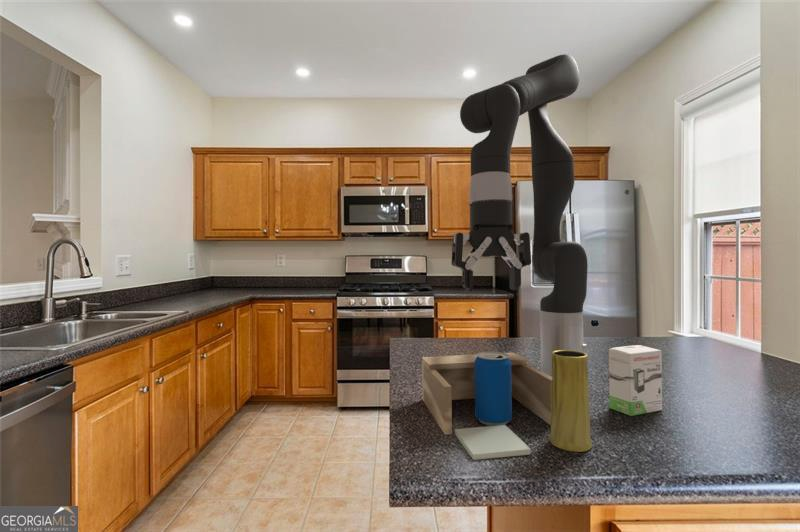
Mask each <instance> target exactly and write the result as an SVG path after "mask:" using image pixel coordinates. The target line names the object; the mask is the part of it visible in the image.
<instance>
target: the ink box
mask: <svg viewBox="0 0 800 532" xmlns="http://www.w3.org/2000/svg"><path fill="white" fill-rule="evenodd" d="M662 353H663V352H662V350H661V349H657V348H653V347H650V346H646V345H641V344H636V345H635V344H634V345H625V346H616V347H611V348H609V349H608V373H609V374H608V377H609V379H608V383H609V385H608V386H609V390H608V391H609V393H608V395H609V397H608V398H609V409H611V410H614V411H617V412H619V413H622V414H625V415H627V416H629V417H633V416H638V415H644V414H648V413H653V412H659V411H662V410H663V364H662V363H663V362H662V361H663V354H662Z"/></svg>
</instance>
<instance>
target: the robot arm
mask: <svg viewBox="0 0 800 532" xmlns="http://www.w3.org/2000/svg"><path fill="white" fill-rule="evenodd" d="M579 84H580V71H579V67H578V64H577V61H576V60H575V58H574V57H573V56H572V55H569V54H566V53H565V54H559V55H555V56H554V57H551V58H548V59H546V60H543V61H541V62H539V63H536V64H534V65H532V66H530V67H528V69H527V70H526V72H525V74H523V75H520V76H516V77H514V78H511V79H509V80H507V81H504V82H503V83H501V84H497V85H494V86H492V87H489V88H486V89H483V90H481V91H478V92H476V93H473V94H470V95H469V96H467V97H466V98H465V100H464V101H463V103H462V104H461V107H460V112H459V117H460V121H461V124H462V126H463V128H465V129H466V130H467V131H468V132H470V133H473V134H482V133H486V132H489V133H488V134H487V136H486V137H485V138H483V139H482V140H481V141H479V142H477V143H476V144H474V145H473V146H472V148H471V150H470V182H469V232H468V233H463V232H456V233H454V234H453V235H452V242H451V243H452V245H451V248H452V249H451V265H452V267H456V268H458V269H460V270H461V271H462V272H461V276H462V277H461V280H462V281H461V283H462V285H461V286H462V287H463V289H465V291H466V292H473V291H474V270H472V268H473V266H474V265H475V263H477V261H479V259H480V258H481V257H482V258H489V257H492V258H494V257H495V258H496V257H497V258H499V257H501V258H502V259H503V261H505V262H506V264H507V265H508V266H509V268H510V269H509V270H508V271H509V274H508V275H509V281H508V282H509V283H508V284H509V290H511V291H517V290H519V287H521V284H522V269H523V268H524V267H527V266H530V265H531V264H532V265H533V270H534V272H535V274H536V276H537V277H538V278H539V279H541V280H543V281H547V282H548V281H549V282H553V289H552V291H551V292H550V294H548V295H546V296H543V297H542V298H541V299H540V301H539V302H540V303H539V307H540V308H539V309H540V311H539V312H540V316H539V317H540V371H541V372H543V373H545V374H547V375H549V376H551V377H552V352H553V351H556V350H573V351H580V352H584V353H586V354H587V355H588V345H587V344H586V343H584V303H585V301H586V297H587V288H588V287H587V286H588V285H587V284H588V269H589V268H588V265H589V264H588V257H587V252H586V250H585V249H584V247H583V246H582V245H581V244H580V243H578V242H576V241H571V240H570V241H561V223H562V217H563V215H564V211H565V210H566V207H567V205H568V203H569V200H570V197H571V195H572V193H573V191H574V186H575V163H574V156H573V155H574V154H573V153H572V150H571V149H570V147H569V146H568V144H567V143H566V142H565V141H564V139H563V138H562V137H561V136H560V135H559V134H558V132H557V131H556V130H555V128H554V127H553V125H552V124H551V121H550V119H549V118H550V117H549V114H548V108H547V107H548V104H549V103H553V102H556V101H560V100H562V99H563V100H564V99H565V98H568V97H570V96H571V95H573V94H574V93H575V92H576V91H577V89H578V87H579ZM525 113H527V115H528V123H529V133H530V135H529V136H530V149H531V178H532V179H531V181H532V182H531V183H532V191H533V192H532V193H533V240H532V252H531V238H530V233H529V232H520V233H519V232H518V233H514V232H513V198H514V196H513V185H512V178H511V151H512V147H513V146H512V145H513V141H514V138H515V133H516V130H517V126H518V122H519V119H520V118H519V117H520V116H522V115H524V114H525ZM467 241H468V243H469V244H470V245H471V247H472V248H471V249H470V250H469V252H468V254H467V255H466V258H465V259H463V251H464V250H463V248H464V246H465V245H466V244H467ZM513 242H515V244H516V245H517V251H518V252H517V253H518V254H516V252H515V251H514V250H513V248H512V247H511V245H512V243H513ZM517 255H518V257H517Z"/></svg>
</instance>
